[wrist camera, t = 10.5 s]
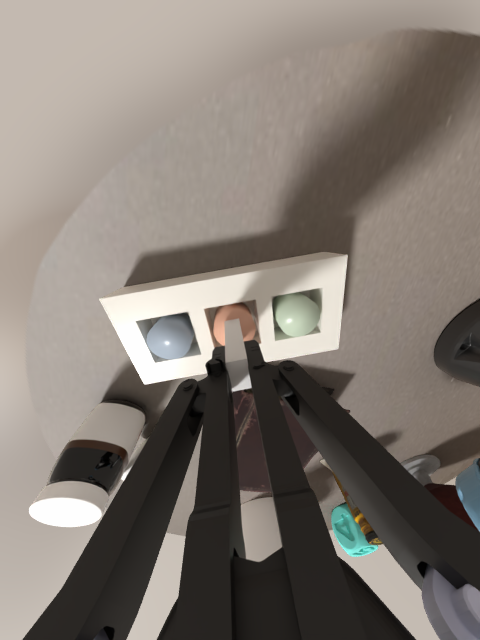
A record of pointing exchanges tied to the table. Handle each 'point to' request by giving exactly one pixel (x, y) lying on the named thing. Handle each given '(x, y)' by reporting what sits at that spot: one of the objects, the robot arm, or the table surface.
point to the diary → (250, 441)
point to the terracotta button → (232, 313)
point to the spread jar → (91, 466)
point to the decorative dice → (350, 532)
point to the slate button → (171, 336)
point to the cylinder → (260, 529)
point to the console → (222, 289)
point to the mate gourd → (437, 485)
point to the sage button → (295, 313)
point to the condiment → (357, 514)
